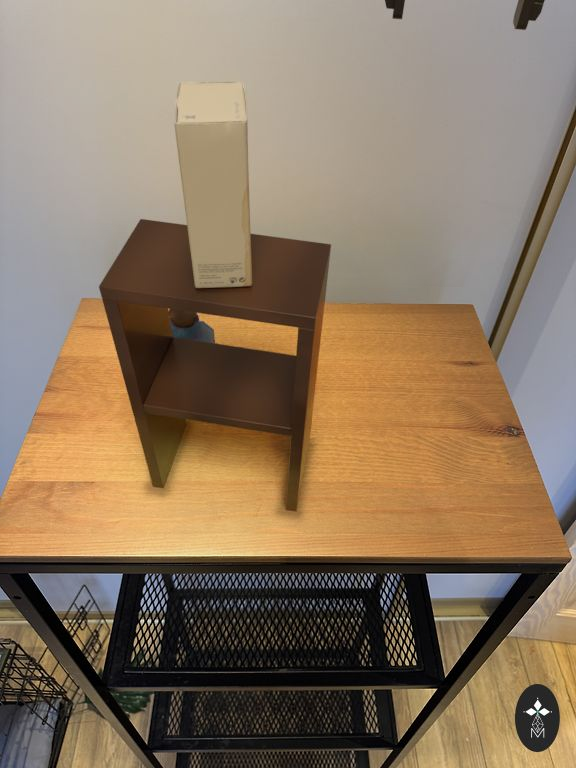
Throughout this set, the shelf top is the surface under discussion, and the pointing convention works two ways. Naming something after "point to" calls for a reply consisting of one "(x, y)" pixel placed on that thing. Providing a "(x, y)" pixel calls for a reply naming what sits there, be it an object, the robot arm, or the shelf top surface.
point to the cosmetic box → (215, 180)
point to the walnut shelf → (210, 360)
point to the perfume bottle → (190, 326)
